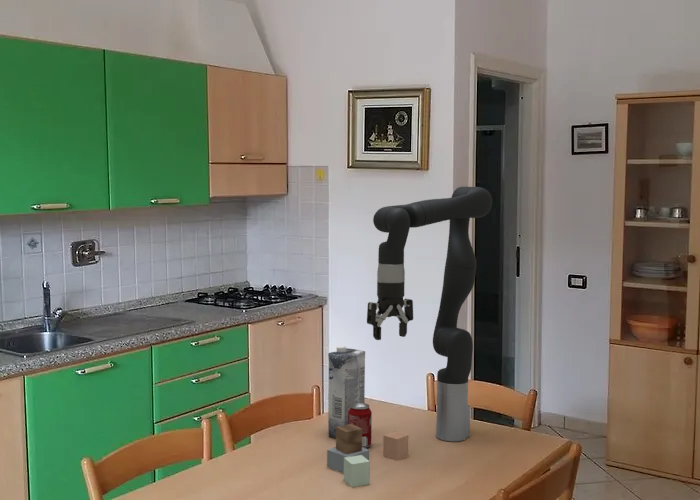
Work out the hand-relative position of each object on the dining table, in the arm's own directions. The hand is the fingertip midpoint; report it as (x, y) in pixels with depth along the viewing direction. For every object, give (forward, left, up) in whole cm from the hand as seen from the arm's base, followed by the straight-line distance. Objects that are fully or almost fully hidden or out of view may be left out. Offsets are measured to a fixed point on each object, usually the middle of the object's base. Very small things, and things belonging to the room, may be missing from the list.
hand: (390, 338), depth 217 cm
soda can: (+3, -10, -33) cm, 35 cm away
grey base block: (+15, +2, -33) cm, 37 cm away
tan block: (-1, +2, -33) cm, 33 cm away
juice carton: (+1, -20, -33) cm, 39 cm away
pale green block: (+19, +12, -33) cm, 40 cm away
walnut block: (+15, +2, -28) cm, 32 cm away
